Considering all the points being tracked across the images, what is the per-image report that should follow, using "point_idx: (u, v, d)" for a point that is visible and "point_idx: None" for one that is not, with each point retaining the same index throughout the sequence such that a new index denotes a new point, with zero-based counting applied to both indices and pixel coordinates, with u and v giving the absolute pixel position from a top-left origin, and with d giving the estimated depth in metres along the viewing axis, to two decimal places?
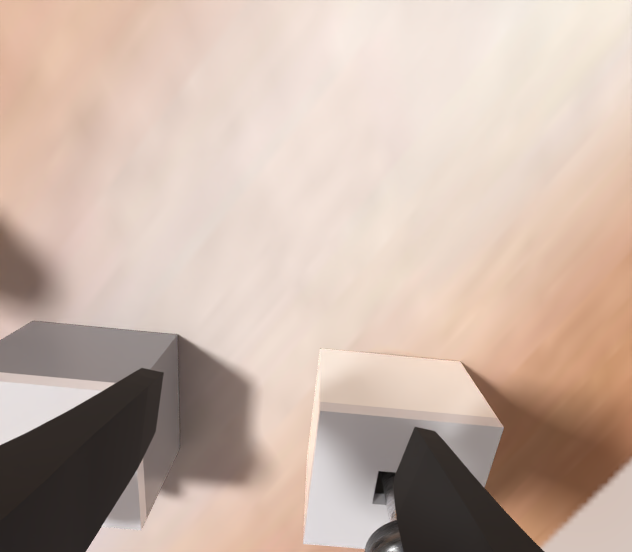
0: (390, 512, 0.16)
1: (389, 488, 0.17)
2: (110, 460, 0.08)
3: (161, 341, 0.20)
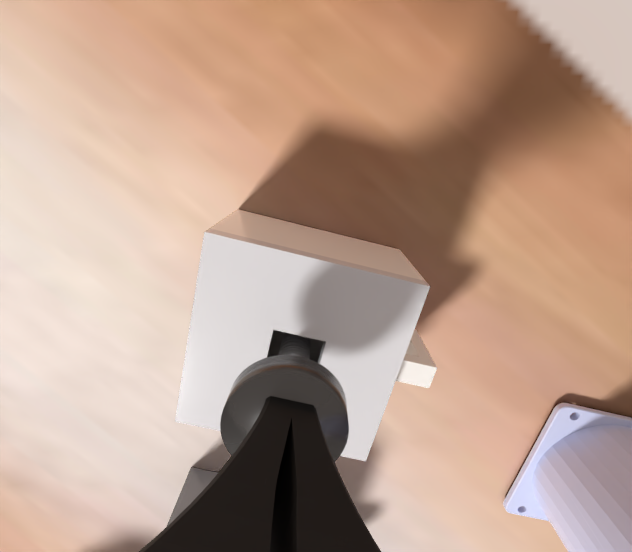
0: None
1: None
2: None
3: None
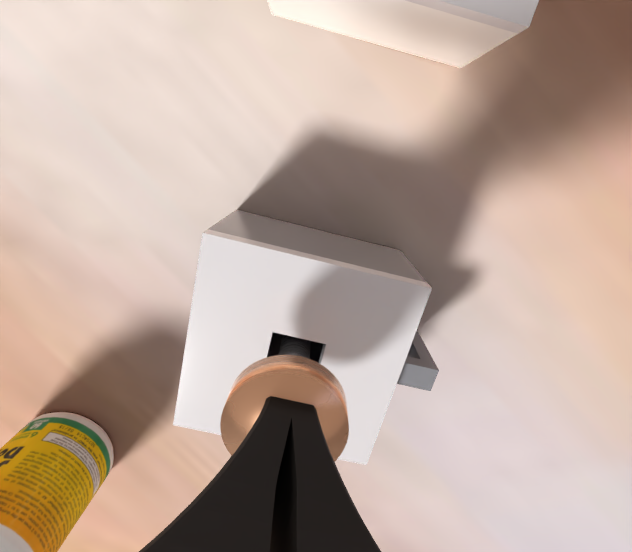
0: None
1: None
2: None
3: None
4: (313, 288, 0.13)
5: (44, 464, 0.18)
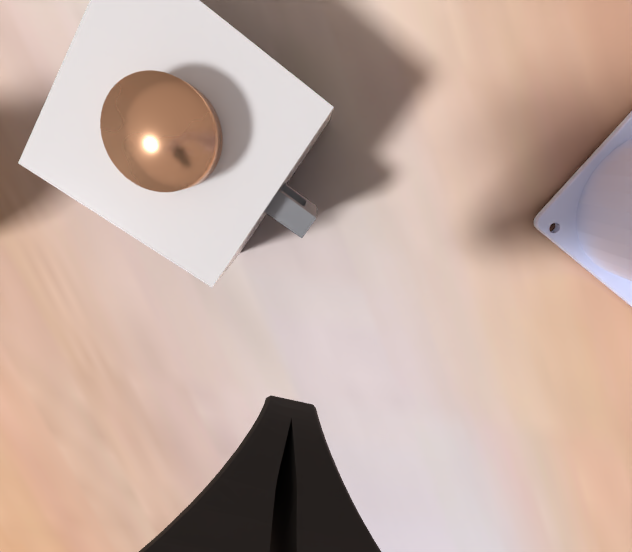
0: None
1: None
2: None
3: None
4: (217, 56, 0.12)
5: None
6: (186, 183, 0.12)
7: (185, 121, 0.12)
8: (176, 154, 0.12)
